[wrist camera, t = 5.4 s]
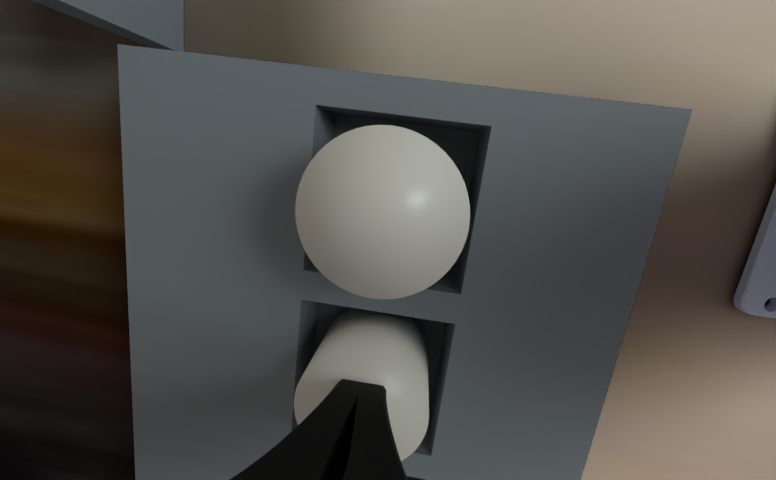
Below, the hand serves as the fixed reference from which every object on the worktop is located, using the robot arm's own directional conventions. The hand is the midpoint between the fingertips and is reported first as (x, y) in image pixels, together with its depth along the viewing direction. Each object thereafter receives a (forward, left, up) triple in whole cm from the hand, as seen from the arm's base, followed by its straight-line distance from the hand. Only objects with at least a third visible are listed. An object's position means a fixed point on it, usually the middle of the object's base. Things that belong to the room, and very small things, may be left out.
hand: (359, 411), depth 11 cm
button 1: (0, -6, -2) cm, 6 cm away
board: (0, +3, -4) cm, 5 cm away
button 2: (0, 0, -3) cm, 3 cm away
